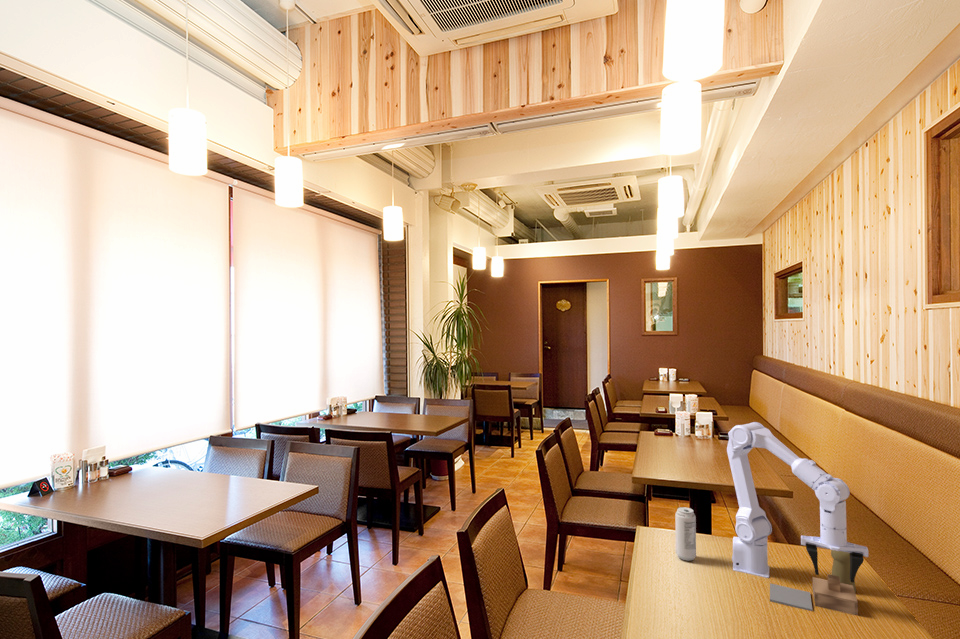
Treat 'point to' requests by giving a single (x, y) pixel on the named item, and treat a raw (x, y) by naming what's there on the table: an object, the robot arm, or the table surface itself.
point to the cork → (842, 567)
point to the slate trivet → (790, 597)
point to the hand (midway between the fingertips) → (834, 576)
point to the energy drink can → (685, 533)
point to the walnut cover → (835, 595)
